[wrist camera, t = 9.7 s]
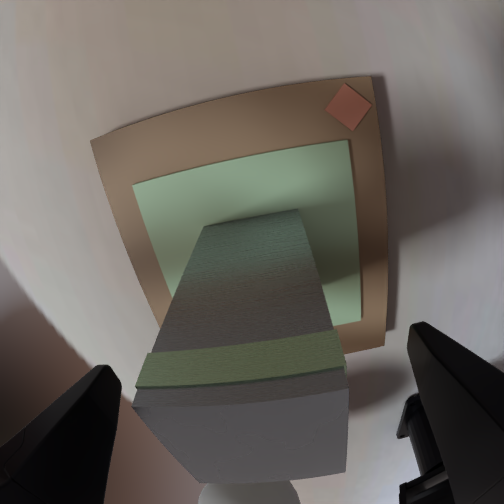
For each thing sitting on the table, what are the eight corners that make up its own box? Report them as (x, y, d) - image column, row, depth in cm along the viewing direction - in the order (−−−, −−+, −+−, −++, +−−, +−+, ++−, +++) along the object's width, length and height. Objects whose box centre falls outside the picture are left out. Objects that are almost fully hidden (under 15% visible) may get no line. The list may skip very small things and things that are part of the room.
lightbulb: (293, 384, 19) (302, 543, 9) (295, 429, 22) (301, 554, 12) (202, 388, 20) (177, 539, 10) (220, 432, 23) (207, 553, 13)
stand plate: (379, 334, 17) (385, 347, 16) (186, 363, 19) (183, 377, 18) (363, 78, 11) (372, 75, 10) (100, 137, 13) (87, 141, 12)
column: (311, 289, 14) (347, 472, 6) (226, 303, 15) (198, 483, 7) (298, 207, 13) (351, 386, 5) (202, 225, 13) (127, 404, 5)
